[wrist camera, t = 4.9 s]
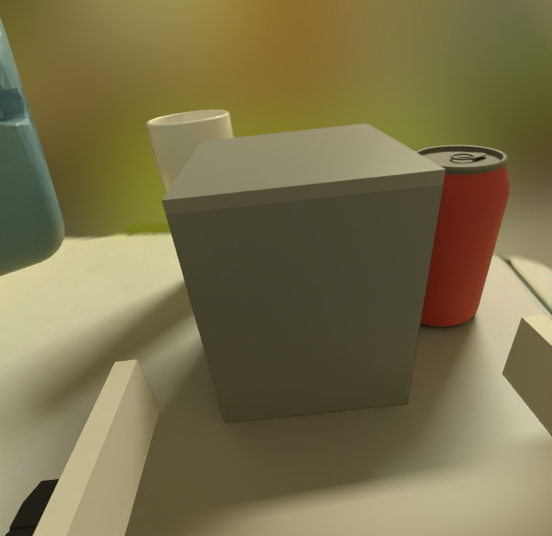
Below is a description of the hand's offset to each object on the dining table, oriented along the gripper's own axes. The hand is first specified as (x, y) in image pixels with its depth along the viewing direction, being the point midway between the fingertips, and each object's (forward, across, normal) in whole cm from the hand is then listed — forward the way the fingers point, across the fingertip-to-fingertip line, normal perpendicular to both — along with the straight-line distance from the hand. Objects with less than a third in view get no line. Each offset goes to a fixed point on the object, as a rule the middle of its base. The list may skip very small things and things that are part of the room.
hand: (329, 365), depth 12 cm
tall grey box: (+10, 0, -9) cm, 13 cm away
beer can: (+13, +11, -9) cm, 19 cm away
